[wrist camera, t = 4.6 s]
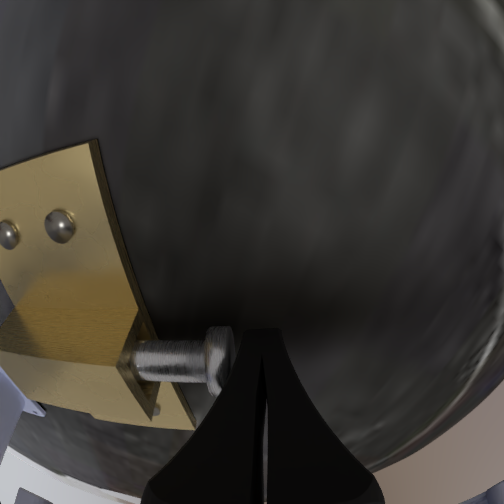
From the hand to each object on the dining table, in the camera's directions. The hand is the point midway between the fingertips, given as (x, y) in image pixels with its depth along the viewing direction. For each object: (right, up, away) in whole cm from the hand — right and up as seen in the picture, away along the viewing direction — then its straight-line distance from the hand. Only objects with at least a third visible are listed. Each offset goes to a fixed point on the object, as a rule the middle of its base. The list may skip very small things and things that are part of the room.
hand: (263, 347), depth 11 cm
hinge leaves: (-8, 0, +1) cm, 8 cm away
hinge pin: (-5, 0, +1) cm, 6 cm away
